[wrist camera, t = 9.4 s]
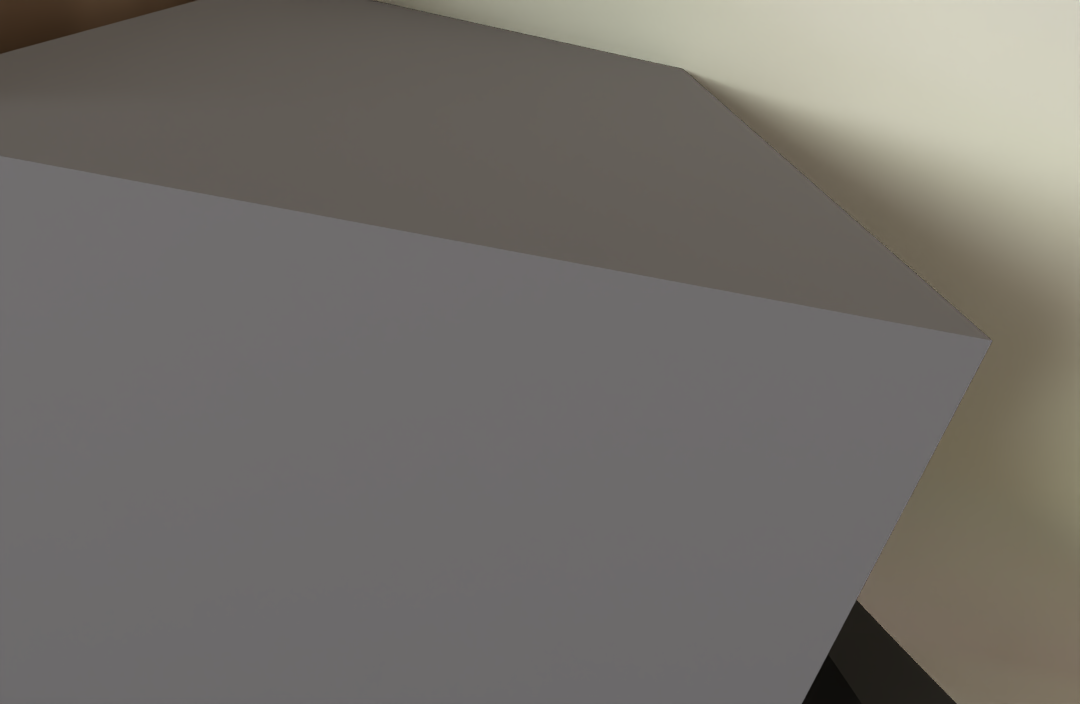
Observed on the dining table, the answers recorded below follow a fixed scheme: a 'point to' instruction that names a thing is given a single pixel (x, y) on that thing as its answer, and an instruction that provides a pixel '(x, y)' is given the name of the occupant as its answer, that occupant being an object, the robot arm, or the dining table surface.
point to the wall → (66, 18)
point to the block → (432, 372)
